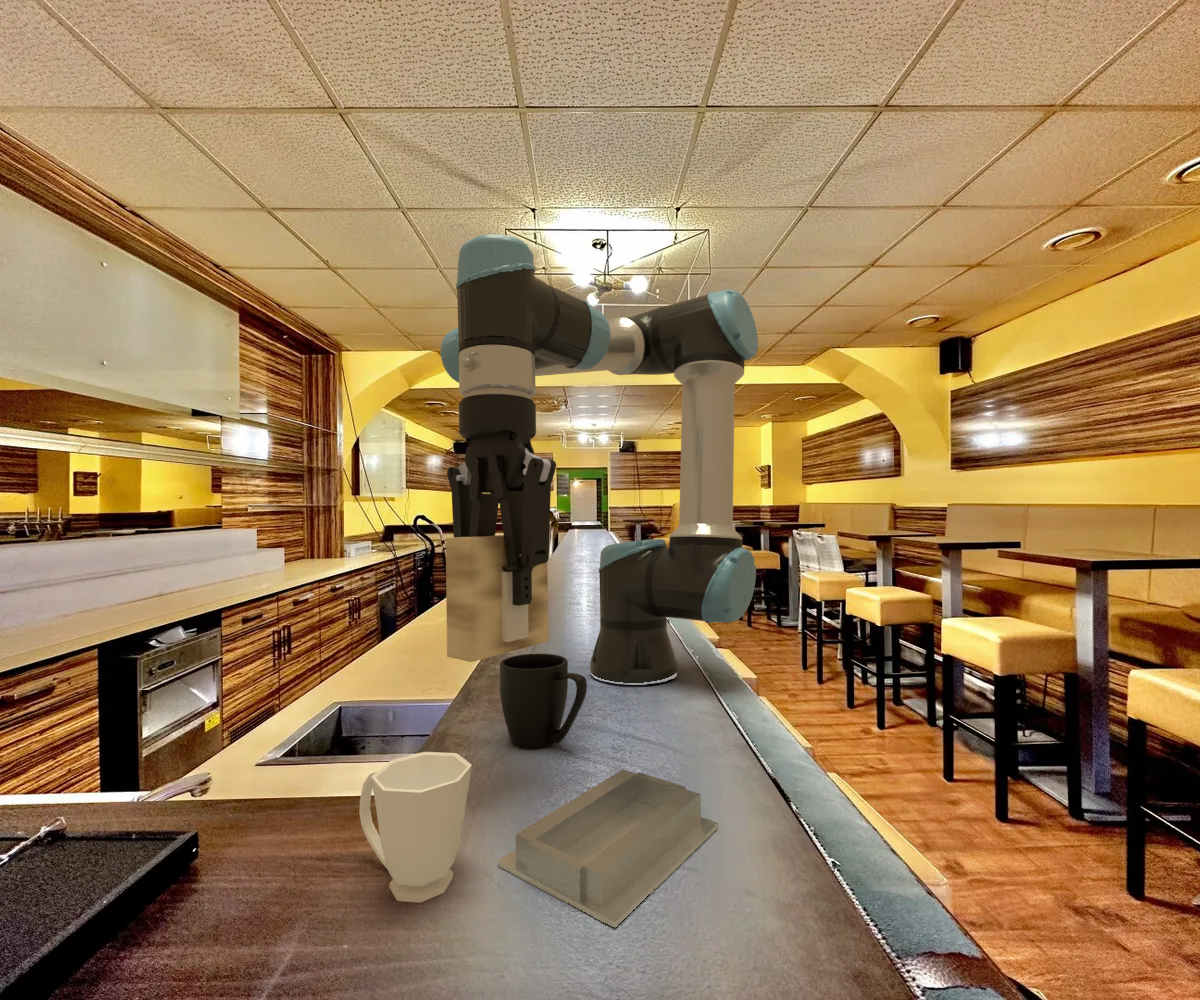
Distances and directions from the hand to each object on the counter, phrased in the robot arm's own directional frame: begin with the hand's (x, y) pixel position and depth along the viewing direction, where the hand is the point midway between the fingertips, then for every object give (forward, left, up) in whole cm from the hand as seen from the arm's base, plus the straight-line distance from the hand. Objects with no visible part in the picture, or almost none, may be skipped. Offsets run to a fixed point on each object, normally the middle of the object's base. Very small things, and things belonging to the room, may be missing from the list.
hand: (500, 635), depth 54 cm
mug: (-12, -5, -15) cm, 20 cm away
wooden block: (0, 0, -1) cm, 1 cm away
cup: (+13, +4, -15) cm, 20 cm away
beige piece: (0, +14, -15) cm, 21 cm away
